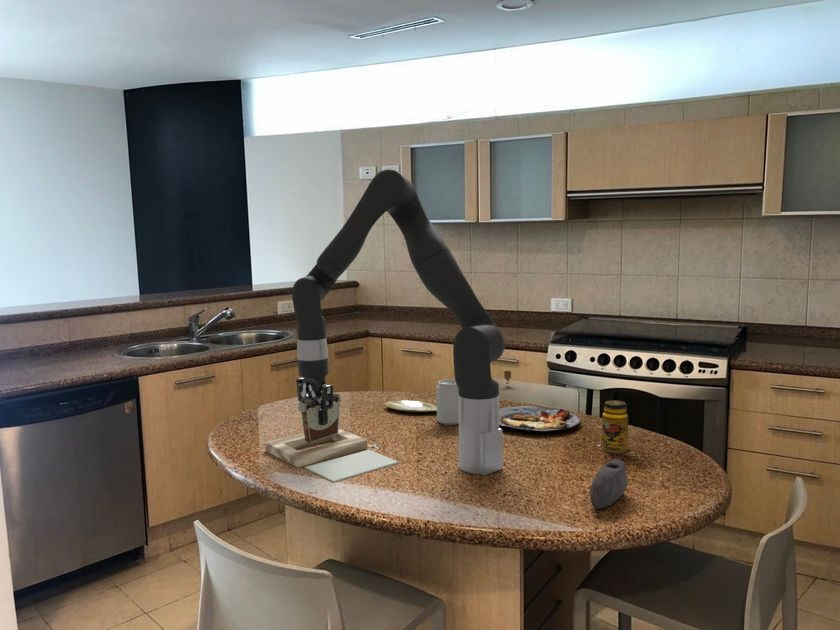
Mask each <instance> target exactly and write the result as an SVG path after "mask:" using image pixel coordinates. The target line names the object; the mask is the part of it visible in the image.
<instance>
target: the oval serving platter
mask: <svg viewBox="0 0 840 630" xmlns="http://www.w3.org/2000/svg"><path fill="white" fill-rule="evenodd" d="M384 405H385V407H387V408H390V409H392V410H397V411H401V412H402V411H403V412H407V413H414V414H415V413H416V414H417V413H419V414H420V413H427V412H434V411H435V412H437V404H433V403H429V402H425V401H418V400H408V399H407V400H403V399H402V400H391V401H387V402H386V403H384Z"/></svg>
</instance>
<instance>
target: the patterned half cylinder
mask: <svg viewBox="0 0 840 630" xmlns="http://www.w3.org/2000/svg"><path fill="white" fill-rule="evenodd" d="M318 398H321V397H318ZM320 402H321V406H322V401H320ZM327 402H328V404H329V400H327ZM341 402H342V398H341V396H340V394H339V393H333V408H330V409H328V411H327V412H328V424H326V425H322V426H321V425H319V418H318V411H319V410H318V407H317V403H315V402H314V400H313V397H312V398H307V397H303V398H302V399H300V402H299V401H298V407H297V410H298V411H299V412H301V413H300V414H301V420H302V427H303V428H302V429H303V433H304V435H305V440H306V441H307V442H309V443H312V442H315V441H318V440H321V439H324V438H327V437H330V436H333V435H336V434H338V428H339V423H340V403H341Z"/></svg>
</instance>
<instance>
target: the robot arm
mask: <svg viewBox="0 0 840 630" xmlns="http://www.w3.org/2000/svg"><path fill="white" fill-rule="evenodd" d="M386 212H387V214H389V216H390V217H391V219H392V220H393V221H394V222H395V224H396V225H397V227H398V228H399V230H400V232H401V234H402V235H403V239H404V240H405V244H406V248H407V253H408V256H409V259H410V262H411V263H412V265H413V268H414V270H415V271H416V274H417V275H418V277H419V279H420V280H421V283H422V284H423V285H424V287H425V288H426V289H427V291H428V292H430V294H431V295H432V296H433V297H434V298H435V299H436V300H438V301H439V302H440V303H441V304H442V305H444V307H445V308H447V309H448V310H449V311H450V313H451V314H453V316H454V317H455V319H456V320H457V322H458V323H459V325H460V327H461V329H460V330H459V331H458V332H457V333H456V335H455V337H454V340H453V347H452V355H453V356H452V357H453V371H454V372H453V373H454V374H453V375H454V380H455V382H456V384H457V387H458V394H459V424H458V451H459V452H458V454H459V455H458V459H459V461H458V462H459V463H458V464H459V469H460V470H461V471H463V472H465V473H468V474H475V475H482V476H486V475H489V474H492V473H494V472H499V471H501V470H503V467H504V466H503V465H504V461H503V459H504V457H503V455H504V452H503V449H504V448H503V447H504V446H503V445H504V443H503V441H504V439H503V437H504V436H503V434H504V433H503V429H502V428H501V427H500V425H499V409H500V386H499V383H498V381H497V380H495V379H493V378H492V371H491V370H492V367H491V363H492V362H495V361H497V360H499V359H500V358H501V356H502V355H503V353H504V351H505V338H504V336H503V333H502V331H501V329H500V328H499V326H498V325H497V323H495V321H494V319H493V318H492V317H491V316H490V314H489V313H488V311H487V310H486V309H485V307H484V306H483V305H482V303H481V302H480V300H479V299H478V298H477V296H476V294H475V291H474V290H473V288H472V287H471V285H470V284H469V282H468V279H466V276H465V275H464V273H463V272H462V270H461V269H460V266H459V264H458V262H457V260H456V259H455V257H454V255H453V254H452V252H451V250H450V249H449V247H448V245H447V244H446V243H445V241H444V239H443V238H442V236H441V234H440V233H439V232H438V230H437V229H436V228H435V226H434V225H433V224H432V223H433V222H432V221H431V220H430V219H429V217H428V215H427V213H426V211H425V208H424V207H423V205H422V202H421V201H420V198H419V195H418V193H417V191H416V189H415V187H414V185H413V183H412V182H411V180H410V179H408V178H407V177H406V176H405V175H404V174H403V173H401V172H400V171H398V170H395V169H392V168H386V169H381V171H379V172H378V173H377V174H375V176H373V178H372V179H371V181H370V183H369V184H368V185H367V187H366V189H365V191H364V192H363V194H362V196H361V198H360V199H359V201H358V203H357V204H356V206H355V208H354V209H353V211H352V212H351V214H350V215H349V217H348V218H347V220H346V222H345V223H344V225H343V226H342V227H341V229H340V230H339V231H338V232H337V234H336V235H335V236H334V238H333V239H332V240H331V241H330V242H329V244H328V245H327V246H326V247H325V249H324V250H323V251H322V252H321V253H320V255H319V256H318V258H317V260H316V264H314V266H313V267H312V269H311V270H310V271H309V272H308V274H306V276H304V277H301V278H299V279H297V280H296V281H295V282H294V284H293V285H292V292H291V297H292V304H293V311H294V316H295V318H296V332H297V346H296V351H297V353H296V355H297V373H298V376H299V378H296V379H295V380H296V392H297V400H298V403H299V402H300V399H302V398H303V397H307V398H312V397H313V400H314V402H315V403H317V407H318V410H319V411H318V418H319V425H321V426H322V425H326V424H328V412H327V411H328V409H330V408H333V394H334V385H333V384H327V382H326V376H328V375H329V373H330V367H329V364H330V363H329V348H328V342H327V327H326V326H327V325H326V319H325V317H324V315H323V313H322V306H321V305H322V303H321V301H323V299H324V298H325V297H327V295H328V294H329V292H330V291H331V289H332V288H333V287H334V286H335V284H336V283H337V280H338V279H339V278H340V277H341V275H342V274H343V273H345V271H346V270H347V269H348V268H349V267H350V265H351V264H352V263H353V262H354V260H355V259H356V258H357V256H358V255H359V253H360V252H361V251H362V248H363V245H364V244H365V242H366V239H367V237H368V235H369V233H370V231H371V229H372V228H373V226H374V225H375V224H376V223H377V221H378V220H379V219H380V218H381V217H382V216H383V215H384V214H385V213H386ZM318 397H321V398H318ZM327 400H329V404H328V402H327ZM320 401H322V406H321V402H320Z"/></svg>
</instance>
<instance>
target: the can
mask: <svg viewBox="0 0 840 630" xmlns="http://www.w3.org/2000/svg"><path fill="white" fill-rule="evenodd" d="M435 388H436V390H435V391H436V392H435V393H436V396H435V397H436V406H437V411H436V420H437V422H439V424H441V425H445V426H455V425H459V394H458V387H457V384H456V382H455V379H441V380H439V381H438V384H437V386H436V387H435Z"/></svg>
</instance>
